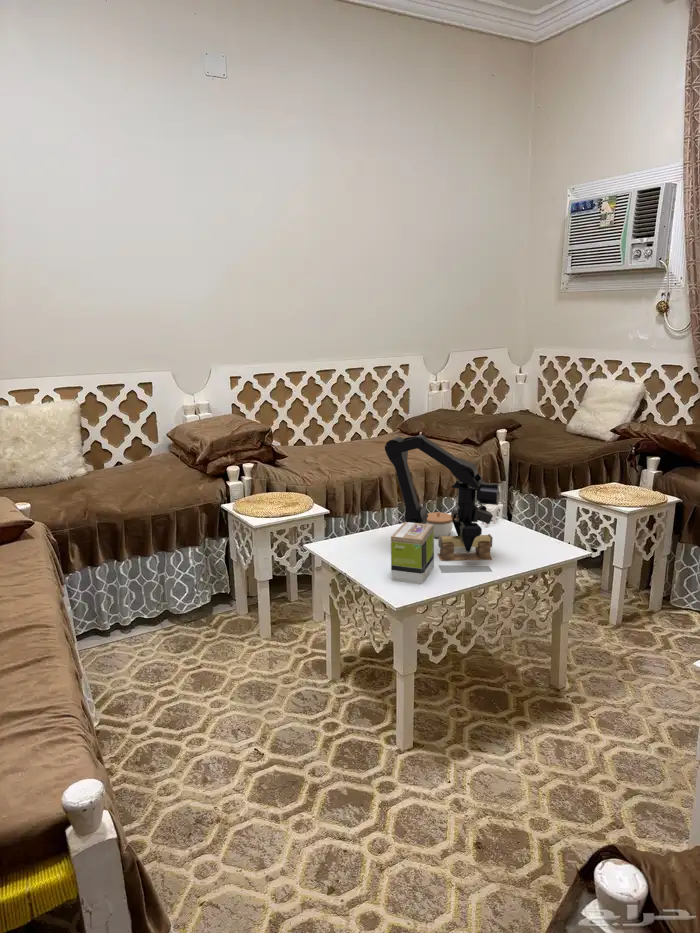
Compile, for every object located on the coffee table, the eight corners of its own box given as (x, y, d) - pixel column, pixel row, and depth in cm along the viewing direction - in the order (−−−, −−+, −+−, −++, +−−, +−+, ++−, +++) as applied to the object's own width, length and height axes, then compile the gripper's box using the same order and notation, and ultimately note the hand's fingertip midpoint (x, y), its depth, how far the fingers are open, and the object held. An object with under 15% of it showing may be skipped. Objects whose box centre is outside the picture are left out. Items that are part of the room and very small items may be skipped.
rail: (440, 548, 213) (440, 538, 212) (438, 545, 216) (438, 535, 215) (492, 547, 214) (492, 537, 213) (489, 543, 217) (489, 534, 216)
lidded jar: (424, 541, 232) (424, 516, 230) (422, 532, 242) (422, 508, 240) (454, 542, 232) (455, 516, 229) (450, 532, 242) (451, 508, 240)
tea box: (404, 563, 212) (404, 520, 209) (434, 567, 208) (435, 523, 205) (390, 581, 198) (390, 535, 195) (422, 585, 195) (423, 538, 191)
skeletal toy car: (493, 518, 258) (494, 501, 256) (511, 526, 248) (512, 508, 246) (450, 525, 250) (451, 507, 248) (466, 534, 240) (467, 515, 239)
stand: (440, 562, 213) (441, 544, 211) (437, 555, 218) (438, 538, 217) (492, 561, 213) (493, 543, 212) (487, 554, 219) (488, 537, 218)
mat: (441, 573, 203) (441, 572, 203) (437, 565, 210) (437, 564, 210) (492, 572, 204) (492, 571, 204) (486, 564, 211) (486, 562, 211)
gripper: (498, 509, 203) (496, 556, 206) (483, 493, 221) (482, 537, 224) (463, 510, 202) (461, 557, 206) (451, 494, 220) (450, 537, 224)
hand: (465, 546), depth 215 cm, fingers open, 9 cm apart
